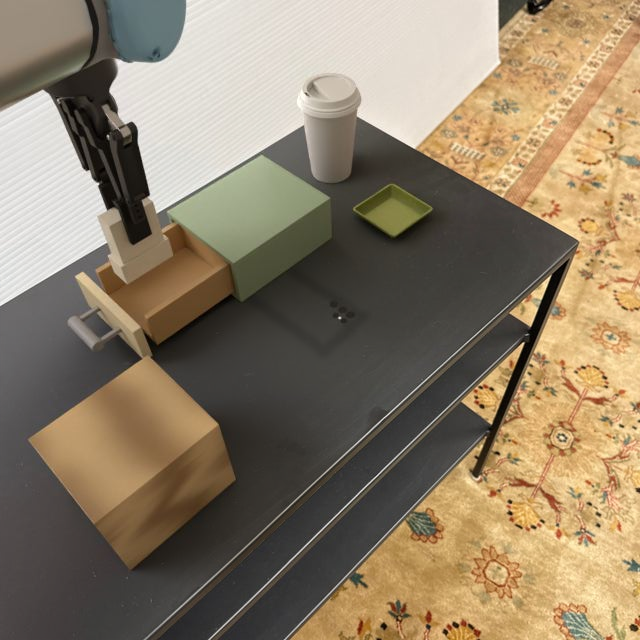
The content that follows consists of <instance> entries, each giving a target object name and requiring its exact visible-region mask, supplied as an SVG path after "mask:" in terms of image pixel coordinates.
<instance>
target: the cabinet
mask: <svg viewBox="0 0 640 640" xmlns="http://www.w3.org/2000/svg"><path fill="white" fill-rule="evenodd" d="M166 214H167V219H168V222H169V225H170V224H172V223H173V222H176V223H178V224H179V225H180V226H181V227H183V228H184V229H185V230H187V231H188V232H189V233H190V234H192V235H193V236H194V237H196V238H197V239H198V240H199V241H201V242H202V243H203V244H205V245H206V246H207V247H208V248H210V249H211V250H212V251H214V252H215V253H216V254H217V255H219V256H220V257H221V258H223V259H224V260H225V261H226V262H228V263H229V264H230V265H231V270H232V274H233V279H234V284H235V289H236V290H235V291H234V292H233V293H231V294H230V295H231V296H232V297H234V298H235V299H236V300H238V302H240V303H242V302H244V301H245V300H247V299H248V298H250V297H251V296H252V295H254V294H255V293H257V292H258V291H260V290H261V289H263V288H264V287H265V286H266V285H268V284H269V283H271V282H272V281H274V280H275V279H276V278H278V277H279V276H280V275H282V274H284V272H286V271H287V270H289V269H290V268H292V267H293V266H295V265H296V264H297V263H299V262H300V261H302V260H303V259H304V258H306V257H307V256H309V255H310V254H311V253H312V252H314V251H315V250H317V249H318V248H319V247H320V248H321V246H322V245H324V244H325V243H327V242H328V241H330V240H331V239H333V230H332V227H333V226H332V201H331V197H330V196H328V195H327V194H325V193H324V192H323V191H320V190H319V189H317V188H316V187H315V186H312V185H311V184H309V183H308V182H306V181H304V180H303V179H301V178H299V177H298V176H297V175H295V174H294V173H292V172H290V171H288V170H287V169H286V168H283V166H281V165H279V164H277V163H275V162H274V161H272V160H271V159H270V158H268V157H266V156H265V155H263V154H261V155H259V156H258V157H256V158H255V159H252V160H251V161H248V163H246V164H245V165H242V166H241V167H239V168H237V169H236V170H234V171H233V172H231V173H229V174H228V175H225V176H224V177H222V178H221V179H219V180H218V181H215V182H214V183H213V184H210V185H209V186H208V187H206V188H204V189H202V190H200V191H198V192H197V193H195V194H194V195H192V196H190V197H189V198H187V199H186V200H184V201H182V202H180V203H179V204H177V205H175V206H174V207H172V208H170V209H169V210H167V211H166Z"/></svg>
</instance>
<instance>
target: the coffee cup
mask: <svg viewBox="0 0 640 640" xmlns="http://www.w3.org/2000/svg"><path fill="white" fill-rule="evenodd" d="M362 101H363V100H362V94H361V91H360V89H359V88H358V86H357V84H356V83H355V81H354V80H353V79H352V78H351V77H349V76H347V75H346V74H342V73H337V72H336V73H335V72H326V73H325V72H324V73H319V74H316V75H313V76H310V77H309V78H308V79H306V80H305V81H304V82H303V84H302V86H301V89H300V90H299V93H298V95H297V100H296V104H297V106H298V108H299V109H300V111H301V115H302V122H303V127H304V132H305V133H304V134H305V139H306V140H305V141H306V144H307V151H308V157H309V163H310V170H311V174H312V177H313V178H314V179H316V180H317V181H319V182H321V183H325V184H337V183H340V182H343V181H345V180H346V179H348V178H349V177H350V176H351V173H352V169H353V168H352V167H353V157H354V149H355V148H354V146H355V137H356V126H357V120H358V119H357V118H358V111H359V110H358V108H359V107H360V106H361V104H362Z"/></svg>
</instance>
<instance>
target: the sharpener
mask: <svg viewBox="0 0 640 640" xmlns="http://www.w3.org/2000/svg"><path fill="white" fill-rule="evenodd" d="M142 203H143V206H144V209H145V212H146V216H147V219H148V222H149V225H150V228H151V231H152V235H150V236H148V237H147V238H145V239H143V240H142V241H140V242H138V243H137V244H135V245H132V244H131V243H130V242H129V239H128V236H127V233H126V231H125V228H124V225H123V222H122V219H121V217H120V214H119V211H118V208H117V207H116V206H114V207H113V208H111V209H109V210H107V209H106V211H104V212H102V213H100V214H98V215H97V220H98V222H99V224H100V228H101V231H102V233H103V235H104V238H105V240H106V243H107V246H108V249H109V251H110V253H109V254H107V257H108V262H109V261H110V263H111V266H112V268H113V271H114V273H115V274H116V275H118V276H119V277H120V278H121V279H122V280H123V281H124V282H125V283H126V284H129V283H131V282H132V281H134V280H135V279H137V278H139V277H140V276H142V275H143V274H145V273H147V272H148V271H150V270H151V269H153V268H155V267H156V266H158V265H159V264H161V263H162V262H164V261H166V260H167V259H169V258H170V257H172V256H173V252H172V249H171V245H170V242H169V238H167V237H166V236H165V235H164V234H162V228H161V224H160V223H161V222H160V221H159V216H158V213H157V211H156V207H155V204H154V201H153V200H152V199H150V198H149V196H148V197H147V198H145V199H143V200H142Z"/></svg>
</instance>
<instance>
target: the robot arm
mask: <svg viewBox="0 0 640 640" xmlns="http://www.w3.org/2000/svg"><path fill="white" fill-rule="evenodd" d="M186 15H187V0H0V113H1V112H4V111H5V110H7V109H9V108H12V107H13V106H15V105H17V104H19V103H20V102H22V101H24V100H26V99H28V98H30V97H32V96H34V95H36V94H38V93H39V92H42V91H44V92H45V93H46V94H48V95H49V96H50V98H51V100H52V102H53V103H54V105H55V107H56V109H57V111H58V113H59V116H60V118H61V121H62V123H63V125H64V128H65V130H66V133H67V135H68V137H69V139H70V142H71V144H72V147H73V148H74V151H75V154H76V155H77V158H78V161H79V163H80V165H81V168H82V169H83V170H84V171H85V172H89V173H90V176H91V178H92V180H93V181H94V182H95V183H96V184H98V185H97V188H98V190H99V193H100V195H101V198H102V201H103V204H104V207H105V210H106V211H107V210H109V209H111V208H113V207H114V206H116V207H117V208H118V211H119V214H120V217H121V219H122V222H123V225H124V228H125V231H126V233H127V236H128V239H129V242H130V243H131V244H132V245H135V244H137V243H138V242H140V241H142V240H143V239H145V238H147V237H148V236H150V235H152V231H151V228H150V225H149V222H148V219H147V216H146V212H145V209H144V206H143V203H142V200H143V199H145V198H147V197H148V198H149V197H150V196H151V192H150V188H149V182H148V180H147V179H148V178H147V175H146V170H145V166H144V162H143V158H142V153H141V150H140V146H139V145H140V144H139V129H138V126H137V125H136V124H135V122H134V121H133V120H132V121H129V122H127V123H124V121H123V120H122V119H121V117H120V116H119V107H118V104H117V101H116V99H115V98H114V95H112V93H111V92H110V91H111V87H112V85H113V83H114V82H115V80H116V78H117V77H118V74H119V64H118V62H117V60H119V61H122V62H124V63H126V64H133V63H146V64H154V63H155V64H156V63H160V62H162V61H165V60H166V59H167V58H169V57H170V56H171V55H172V54H173V52H174V51H175V49H176V48H177V46H178V45H179V43H180V40H181V38H182V35H183V32H184V28H185V24H186V17H187V16H186Z"/></svg>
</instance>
